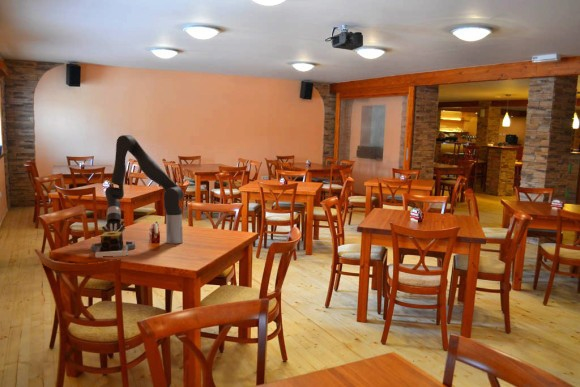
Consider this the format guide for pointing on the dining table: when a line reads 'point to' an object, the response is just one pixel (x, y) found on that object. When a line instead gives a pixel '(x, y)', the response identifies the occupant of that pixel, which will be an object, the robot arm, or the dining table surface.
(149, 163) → the robot arm
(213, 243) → the dining table surface
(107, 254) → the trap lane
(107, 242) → the candle
